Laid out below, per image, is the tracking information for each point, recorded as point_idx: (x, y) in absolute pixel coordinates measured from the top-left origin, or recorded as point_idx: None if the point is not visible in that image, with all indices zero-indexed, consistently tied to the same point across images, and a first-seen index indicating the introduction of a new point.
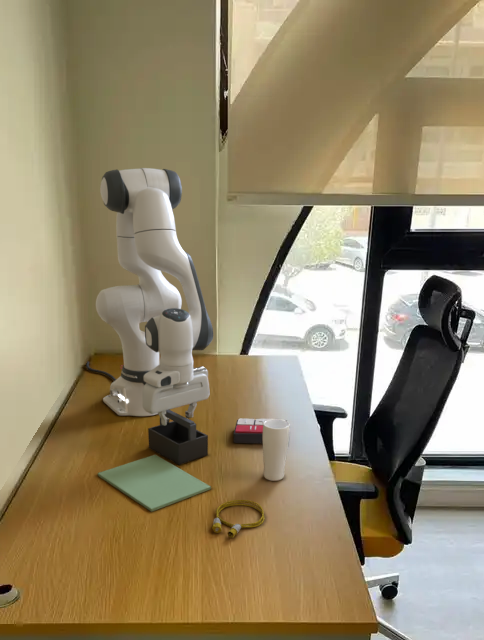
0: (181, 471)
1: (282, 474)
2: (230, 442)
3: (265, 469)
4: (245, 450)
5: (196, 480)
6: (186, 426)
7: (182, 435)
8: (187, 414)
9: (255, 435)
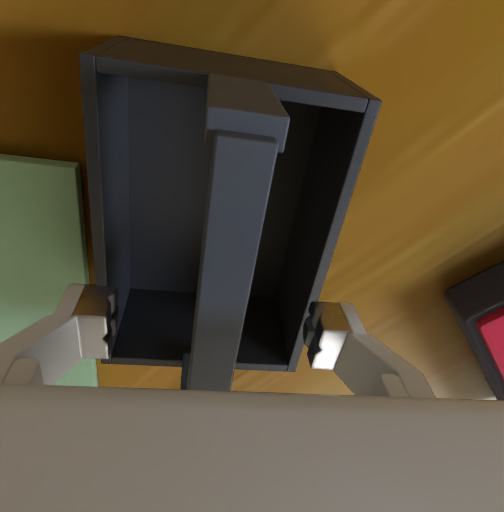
0: None
1: None
2: (442, 278)
3: None
4: (402, 349)
5: None
6: None
7: (322, 152)
8: (316, 333)
9: (488, 372)
